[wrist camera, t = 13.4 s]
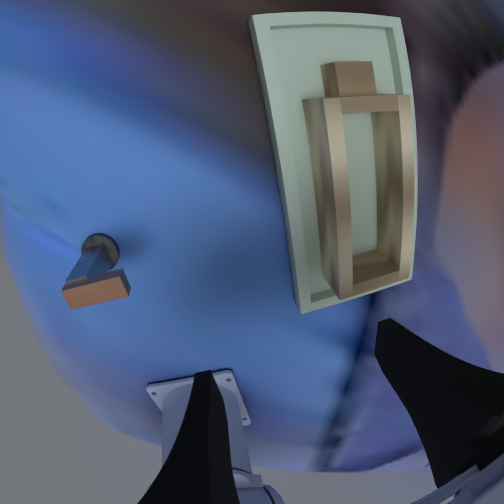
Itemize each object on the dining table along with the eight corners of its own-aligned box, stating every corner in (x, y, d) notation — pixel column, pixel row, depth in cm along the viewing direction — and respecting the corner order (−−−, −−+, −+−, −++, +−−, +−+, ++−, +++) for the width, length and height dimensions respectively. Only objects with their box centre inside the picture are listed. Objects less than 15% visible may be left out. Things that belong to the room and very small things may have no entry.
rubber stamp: (146, 258, 19) (133, 307, 15) (92, 272, 19) (68, 321, 14) (133, 222, 18) (114, 263, 13) (77, 239, 18) (46, 282, 13)
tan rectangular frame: (386, 256, 22) (408, 277, 19) (322, 274, 22) (339, 300, 19) (375, 64, 15) (405, 60, 13) (296, 67, 15) (316, 60, 12)
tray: (401, 270, 24) (411, 279, 22) (295, 302, 23) (301, 314, 22) (387, 21, 15) (399, 17, 13) (247, 22, 14) (252, 15, 13)
